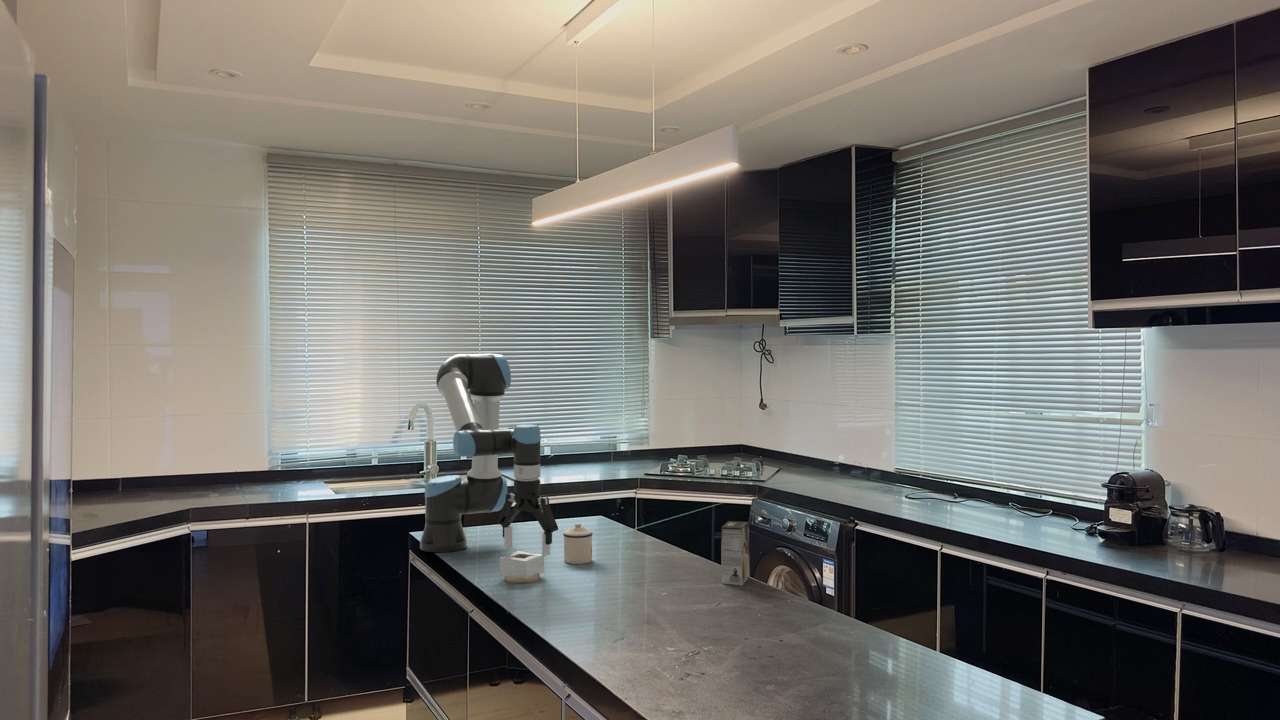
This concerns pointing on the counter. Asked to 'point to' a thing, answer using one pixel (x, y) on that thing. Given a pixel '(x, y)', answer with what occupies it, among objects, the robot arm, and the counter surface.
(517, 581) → the hub
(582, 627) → the counter surface
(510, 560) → the white boxy piece
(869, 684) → the counter surface
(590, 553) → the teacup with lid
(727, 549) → the coffee box
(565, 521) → the counter surface
